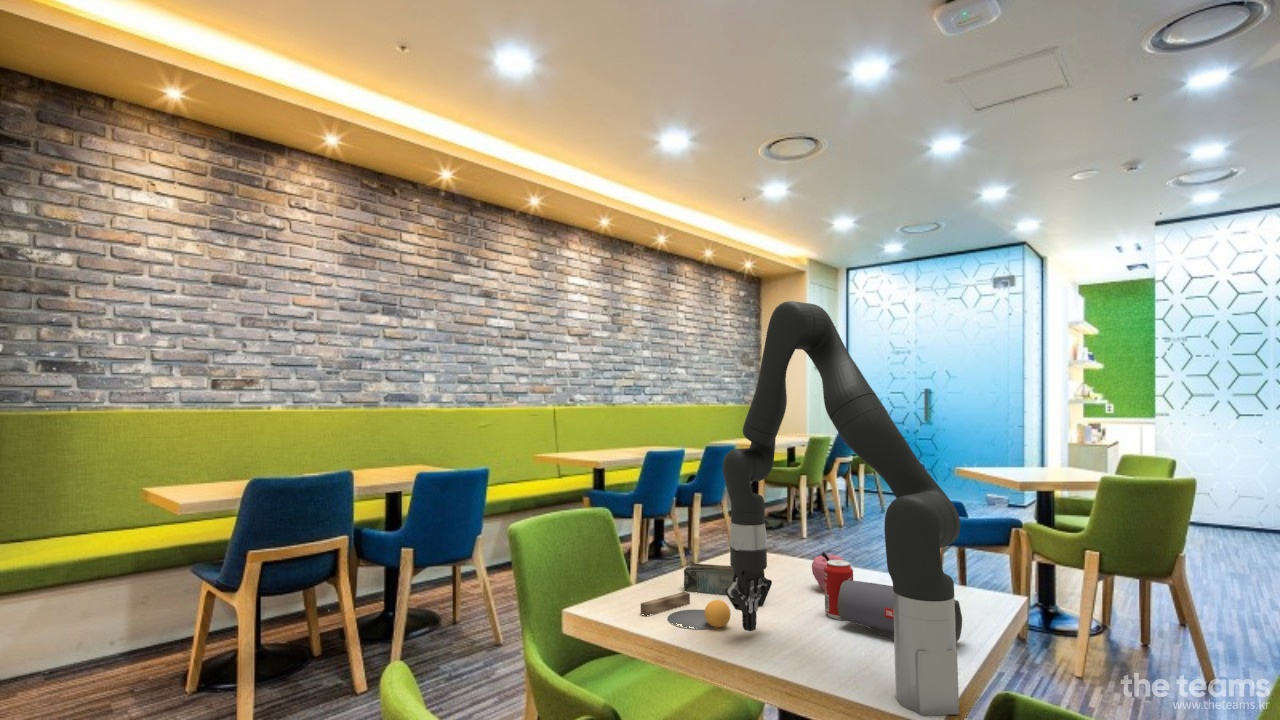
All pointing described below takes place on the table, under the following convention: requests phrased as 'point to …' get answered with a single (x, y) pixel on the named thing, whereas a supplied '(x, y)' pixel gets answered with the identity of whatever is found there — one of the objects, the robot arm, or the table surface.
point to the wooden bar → (665, 603)
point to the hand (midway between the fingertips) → (749, 629)
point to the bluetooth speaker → (875, 607)
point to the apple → (822, 567)
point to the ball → (717, 613)
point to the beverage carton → (708, 578)
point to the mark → (690, 619)
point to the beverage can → (835, 584)
